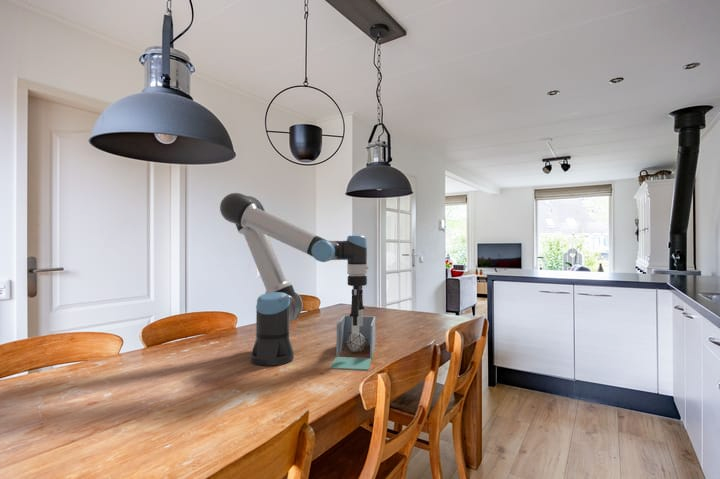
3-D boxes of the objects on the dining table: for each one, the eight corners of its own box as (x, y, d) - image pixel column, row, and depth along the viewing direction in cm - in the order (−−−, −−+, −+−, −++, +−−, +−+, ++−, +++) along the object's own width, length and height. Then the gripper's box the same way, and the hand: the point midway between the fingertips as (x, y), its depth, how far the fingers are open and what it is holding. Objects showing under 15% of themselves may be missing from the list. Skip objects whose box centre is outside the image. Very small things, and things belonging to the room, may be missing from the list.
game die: (360, 363, 143) (368, 346, 138) (339, 354, 143) (347, 337, 138) (364, 346, 151) (372, 329, 145) (345, 338, 151) (352, 321, 146)
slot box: (336, 356, 138) (336, 324, 139) (343, 344, 156) (343, 315, 156) (372, 358, 137) (372, 325, 137) (375, 345, 155) (375, 316, 155)
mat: (330, 368, 125) (330, 367, 125) (336, 357, 137) (336, 356, 137) (368, 370, 124) (368, 369, 124) (371, 359, 136) (371, 358, 136)
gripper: (363, 278, 132) (364, 337, 131) (369, 272, 157) (369, 323, 156) (342, 277, 133) (343, 337, 132) (351, 272, 157) (352, 322, 157)
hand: (357, 329), depth 144 cm, fingers open, 13 cm apart
